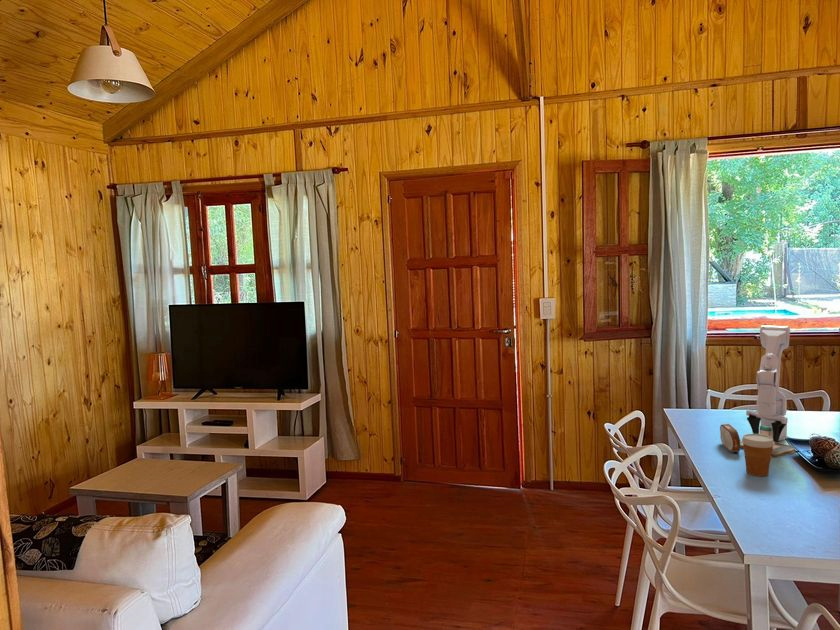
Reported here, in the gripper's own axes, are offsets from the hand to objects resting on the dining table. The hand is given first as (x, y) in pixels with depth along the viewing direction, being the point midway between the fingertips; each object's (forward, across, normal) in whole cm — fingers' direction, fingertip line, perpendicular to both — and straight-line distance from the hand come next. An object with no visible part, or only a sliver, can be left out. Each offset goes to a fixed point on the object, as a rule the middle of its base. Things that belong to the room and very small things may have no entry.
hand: (765, 438), depth 224 cm
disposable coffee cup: (+4, +14, -26) cm, 30 cm away
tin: (+4, -7, -11) cm, 13 cm away
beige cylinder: (+3, 0, 0) cm, 3 cm away
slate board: (+4, 0, 0) cm, 4 cm away
